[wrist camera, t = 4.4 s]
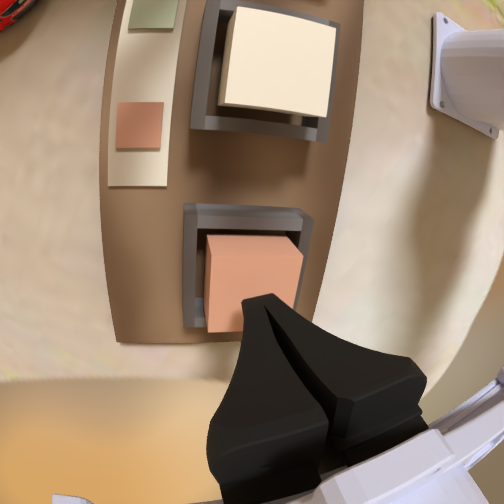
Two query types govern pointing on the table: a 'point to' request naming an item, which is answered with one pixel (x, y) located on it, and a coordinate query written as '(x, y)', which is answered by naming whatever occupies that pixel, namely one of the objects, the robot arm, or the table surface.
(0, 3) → the race car
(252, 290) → the terracotta key
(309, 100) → the cream key
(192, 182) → the keypad
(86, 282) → the table surface
